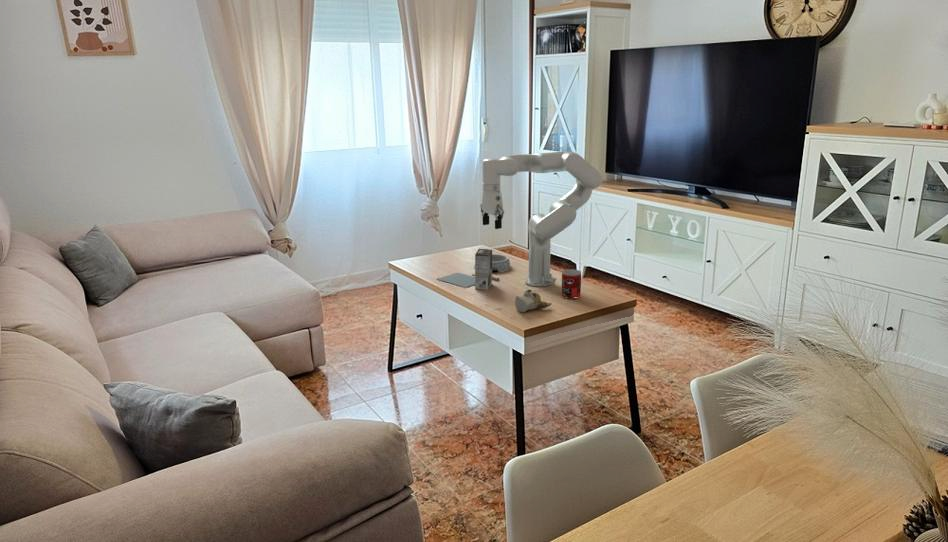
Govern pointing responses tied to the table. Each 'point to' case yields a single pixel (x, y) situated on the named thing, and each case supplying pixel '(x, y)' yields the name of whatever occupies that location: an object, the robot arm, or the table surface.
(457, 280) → the mat
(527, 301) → the ceramic sculpture
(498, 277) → the turner
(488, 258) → the coffee box
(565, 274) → the canned food
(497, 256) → the dog bowl
